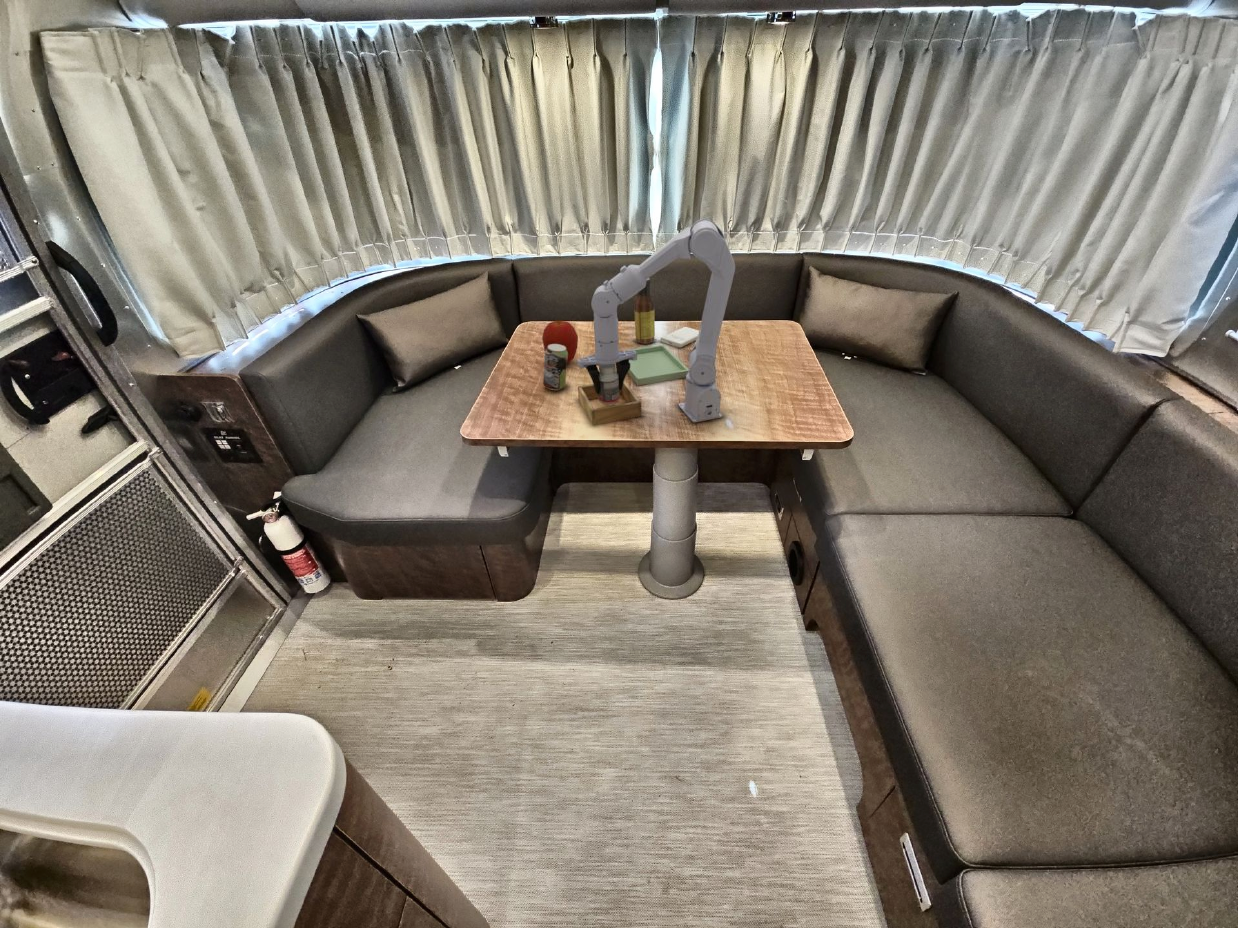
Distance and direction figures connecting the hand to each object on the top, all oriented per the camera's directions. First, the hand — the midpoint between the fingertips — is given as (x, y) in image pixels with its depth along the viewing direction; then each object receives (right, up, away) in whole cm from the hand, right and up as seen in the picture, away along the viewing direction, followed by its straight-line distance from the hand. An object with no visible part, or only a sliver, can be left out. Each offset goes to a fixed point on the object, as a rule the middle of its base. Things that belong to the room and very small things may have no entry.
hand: (608, 390), depth 134 cm
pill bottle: (0, -3, +2) cm, 3 cm away
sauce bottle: (+11, +21, +39) cm, 45 cm away
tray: (+12, +10, +22) cm, 27 cm away
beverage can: (-14, +2, +13) cm, 20 cm away
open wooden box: (0, -4, +3) cm, 5 cm away
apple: (-14, +12, +26) cm, 32 cm away
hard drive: (+23, +22, +39) cm, 50 cm away
